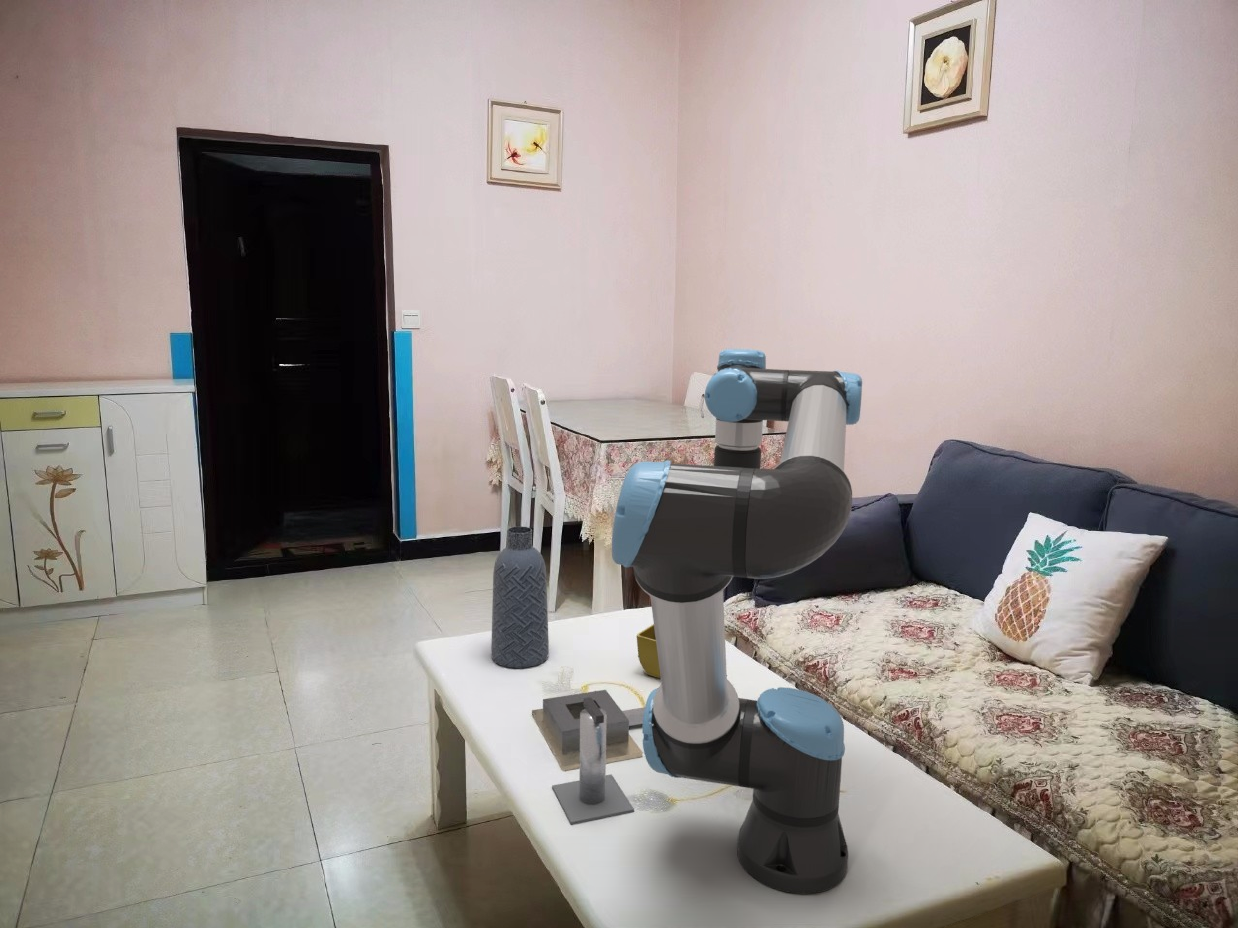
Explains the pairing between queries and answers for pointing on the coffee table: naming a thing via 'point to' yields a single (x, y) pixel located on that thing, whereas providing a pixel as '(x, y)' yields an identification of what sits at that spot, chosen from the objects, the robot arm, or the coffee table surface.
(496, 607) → the vase
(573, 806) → the mat
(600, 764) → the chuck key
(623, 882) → the coffee table surface
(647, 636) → the flower pot
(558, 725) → the square hole fixture
